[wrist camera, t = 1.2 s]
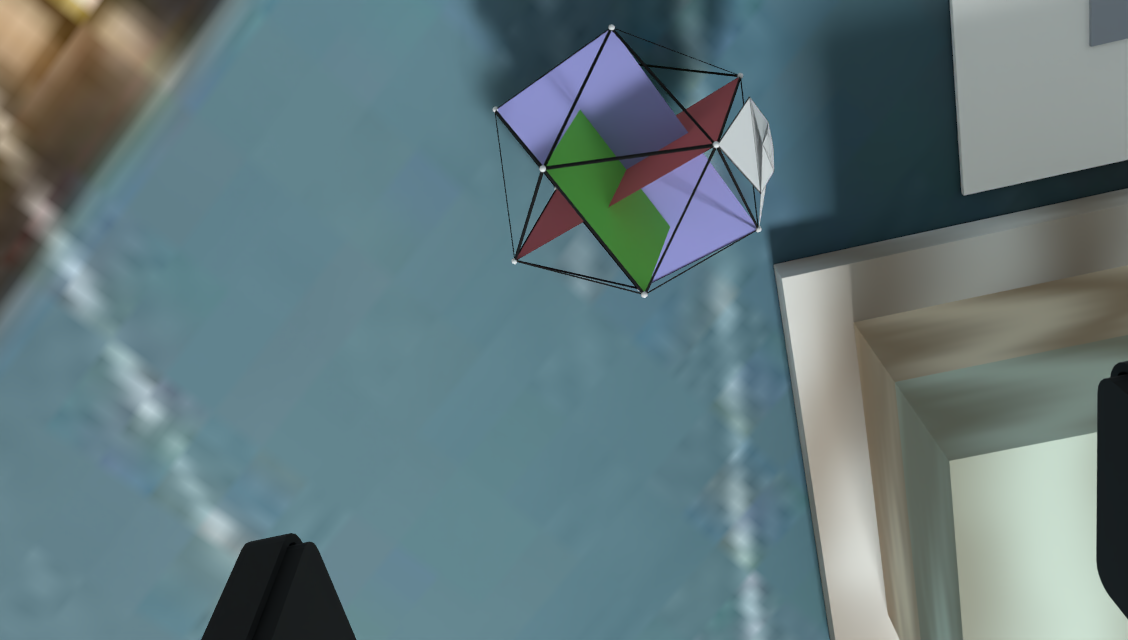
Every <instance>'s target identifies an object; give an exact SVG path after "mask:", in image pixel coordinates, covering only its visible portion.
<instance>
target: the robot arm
mask: <svg viewBox="0 0 1128 640" xmlns="http://www.w3.org/2000/svg"><path fill="white" fill-rule="evenodd" d="M1096 563H1097V570H1098V574H1099V577H1100V580H1101V582H1102V585H1103V587H1104V589H1105V590H1106V592H1107V593H1108V595H1109V596H1110V598H1111V599H1112V600H1113V601H1114V603H1115V604H1116V605H1117V607H1118V608H1119V609H1120V610H1121V612H1122V613H1123V614H1124V615H1125V617H1126V618H1127V619H1128V361H1124V362H1119V363H1117V364H1116V365H1114V367H1113V369H1112V371H1111V376H1110V377H1109V378H1105V379H1103V380H1101V381H1100V383H1099V385H1098V392H1097V525H1096ZM201 640H356V638H355V635H354V633H353V631H352V628H351V626H350V624H349V621H348V619H347V616H346V614H345V612H344V609H343V607H342V605H341V602H340V600H339V598H338V595H337V593H336V590H335V588H334V586H333V583H332V581H331V579H330V576H329V574H328V571H327V569H326V567H325V564H324V562H323V560H322V557H321V555H320V553H319V550H318V549H317V547H316V545H315V544H314V543H313V542H305V543H302V541H301V539H300V538H299V537H298V536H297V535H296V534H293V533H290V534H285V535H280V536H275V537H270V538H266V539H261V540H256V541H251V542H248V543H246V544H245V545H244V547H243V548H242V550H241V552H240V554H239V557H238V559H237V561H236V563H235V566H234V568H233V570H232V572H231V575H230V577H229V579H228V581H227V583H226V586H225V588H224V590H223V592H222V595H221V597H220V599H219V601H218V604H217V606H216V608H215V610H214V612H213V615H212V617H211V619H210V621H209V624H208V626H207V628H206V630H205V633H204V635H203V637H202V639H201Z"/></svg>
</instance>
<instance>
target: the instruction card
mask: <svg viewBox="0 0 1128 640" xmlns="http://www.w3.org/2000/svg"><path fill="white" fill-rule="evenodd" d="M949 1H950V17H951V33H952V49H953V65H954V81H955V97H956V113H957V129H958V145H959V161H960V177H961V193H962V194H963V195H969V194H973V193H978V192H982V191H987V190H992V189H996V188H1001V187H1005V186H1010V185H1015V184H1019V183H1024V182H1028V181H1033V180H1037V179H1042V178H1047V177H1051V176H1056V175H1060V174H1065V173H1070V172H1074V171H1079V170H1083V169H1088V168H1092V167H1097V166H1102V165H1106V164H1111V163H1115V162H1120V161H1125V160H1128V0H949Z"/></svg>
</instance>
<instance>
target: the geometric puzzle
mask: <svg viewBox="0 0 1128 640" xmlns="http://www.w3.org/2000/svg"><path fill="white" fill-rule="evenodd" d="M614 29H615V26H614V25H612V24H611V25H609V29H608V30H606V31H605V32H603V33H602V34H601V35H599V36H598V37H596V38H595V39H594V40H592V41H591V42H589V43H588V44H587V45H585V46H584V47H582V48H581V49H580V50H578V51H577V52H575V53H574V54H573V55H571V56H570V57H568V58H567V59H566V60H564V61H563V62H561V63H560V64H558V65H557V66H556V67H554V68H553V69H551V70H550V71H549V72H547V73H546V74H544V75H543V76H542V77H540V78H539V79H537V80H536V81H535V82H533V83H532V84H530V85H529V86H528V87H526V88H525V89H523V90H522V91H521V92H519V93H518V94H516V95H515V96H514V97H512V98H511V99H509V100H508V101H506V102H505V103H504V104H502V105H501V106H499V107H493V112H495V118H496V115H497V116H498V117H499V119H500V120H501V121H502V122H503V123H504V125H505V126H506V127H507V128H508V130H509V131H510V132H511V133H512V134H513V136H514V137H515V138H516V139H517V141H518V142H519V143H520V144H521V145H522V147H523V148H524V149H525V150H526V152H527V153H528V154H529V155H530V157H531V158H532V159H533V160H534V162H535V163H536V164H537V165H538V166H539V169H540V171H541V172H540V175H539V178H538V182H537V185H536V188H535V192H534V195H533V198H532V202H531V205H530V208H529V211H528V215H527V218H526V221H525V225H524V228H523V231H522V235H521V238H520V241H519V245H518V248H517V251H516V255H514V258H513V259H512V263H513V264H516V263H517V262H519V263H523V264H527V265H531V266H534V267H538V268H542V269H546V270H550V271H554V272H558V271H560V272H558V273H561V274H565V275H569V276H573V277H577V278H581V279H585V278H582V277H586V278H591V279H595V280H600V281H604V282H609V283H613V284H618V285H622V286H627V287H631V288H635V289H638V291H640V292H641V293H640V292H636V291H632V290H628V289H624V288H620V287H616V286H612V285H609V284H605V283H601V282H597V281H593V280H589V279H585V280H588V281H592V282H596V283H600V284H604V285H608V286H612V287H615V288H619V289H623V290H627V291H631V292H635V293H638V294H641V296H642V297H643V298H645V297H647V294H648V293H649V292H651V291H653V290H655V289H656V288H658V287H660V286H661V285H663V284H665V283H667V282H668V281H670V280H672V279H674V278H675V277H677V276H679V275H681V274H682V273H684V272H686V271H687V270H689V269H691V268H693V267H694V266H696V265H698V264H700V263H701V262H703V261H705V260H707V259H708V258H710V257H712V256H713V255H715V254H717V253H719V252H720V251H722V250H724V249H726V248H727V247H729V246H731V245H733V244H734V243H736V242H738V241H740V240H741V239H743V238H745V237H746V236H748V235H750V234H752V233H753V232H755V231H757V232H760V231H761V227H760V226H758V218H757V223H756V221H755V219H754V217H753V215H752V213H751V211H750V209H749V207H748V205H747V203H746V201H745V199H744V197H743V195H742V192H741V190H740V188H739V186H738V184H737V182H736V180H735V178H734V176H733V174H732V172H731V170H730V168H729V166H728V164H727V162H726V160H725V158H724V156H723V154H722V152H721V150H722V151H723V152H724V154H725V155H726V156H727V157H728V158H729V159H730V160H731V161H732V163H733V164H734V165H735V166H736V167H737V168H738V169H739V170H740V171H741V173H742V174H743V175H744V176H745V177H746V178H747V179H748V180H749V181H750V183H751V184H752V185H753V192H754V187H755V188H756V189H757V190H758V191H759V193H760V194H761V200H760V218H759V225H760V219H761V213H762V207H763V201H764V194H765V188H766V184H767V183H768V181H769V179H770V177H771V176H772V174H773V172H774V154H773V143H772V138H771V133H770V128H769V123H768V121H767V119H766V118H765V117H764V115H763V114H762V113H761V111H760V110H759V109H758V107H757V106H756V104H755V103H754V102H753V100H752V99H751V98H750V96H749V98H748V99H747V101H746V102H745V104H744V99H743V107H742V108H741V110H740V111H739V113H738V114H737V116H736V117H735V119H734V120H733V122H732V123H731V125H730V126H729V128H728V129H727V131H726V132H725V134H724V135H723V137H722V138H721V136H722V133H723V130H724V127H725V124H726V121H727V118H728V115H729V112H730V109H731V106H732V103H733V101H734V98H735V95H736V92H737V89H738V86H739V83H740V81H741V78H743V74H742V73H738V74H736V75H734V74H735V73H733V74H725V73H717V72H708V71H699V70H690V69H681V68H673V67H664V66H655V65H646V64H645V63H644V62H643V61H642V60H641V59H640V58H639V57H638V55H637V54H636V53H635V52H634V51H633V50H632V49H631V48H630V46H629V45H628V44H627V43H626V42H625V41H624V40H623V39H622V38H621V36H620V35H619V34H618V33H617V32H616V31H615V30H614ZM616 30H618V29H616ZM619 31H621V30H619ZM622 32H623V31H622ZM624 33H626V32H624ZM627 34H629V33H627ZM629 35H631V34H629ZM632 36H634V35H632ZM635 37H637V36H635ZM637 38H639V37H637ZM640 39H642V38H640ZM643 40H645V39H643ZM645 41H647V40H645ZM648 42H650V41H648ZM651 43H653V42H651ZM653 44H655V43H653ZM656 45H658V44H656ZM625 46H626V47H627V48H628V49H629V51H630V52H631V53H632V54H633V55H634V56H635V57H636V58H637V60H638V61H639V62H640V63H641V64H638V63H637V62H636V60H635V59H634V58H633V56H632V55H631V53H630V52H629V51H628V49H627V48H626V47H625ZM659 46H660V45H659ZM661 47H663V46H661ZM664 48H666V47H664ZM667 49H668V48H667ZM669 50H671V49H669ZM672 51H674V50H672ZM675 52H676V51H675ZM677 53H679V52H677ZM680 54H682V53H680ZM683 55H684V54H683ZM685 56H687V55H685ZM688 57H690V56H688ZM691 58H692V57H691ZM693 59H695V58H693ZM696 60H698V59H696ZM699 61H700V60H699ZM701 62H703V61H701ZM704 63H706V62H704ZM707 64H708V63H707ZM709 65H711V64H709ZM640 66H644V67H645V69H646V70H647V71H648V72H649V73H650V74H651V75H652V76H653V77H654V79H655V80H656V81H657V82H658V83H659V84H660V85H661V86H662V88H663V89H664V90H665V91H666V92H667V93H668V94H669V95H670V97H671V98H672V99H673V100H674V101H675V102H676V103H677V104H678V105H679V107H680V108H681V109H682V110H683V112H681V113H679V114H678V115H675V114H674V112H673V111H672V110H671V108H670V107H669V106H668V104H667V103H666V101H665V100H664V99H663V97H662V96H661V95H660V93H659V92H658V90H657V89H656V88H655V86H654V85H653V84H652V82H651V81H650V79H649V78H648V77H647V75H646V74H645V73H644V71H643V70H642V68H641V67H640ZM712 66H714V65H712ZM648 67H655V68H664V69H673V70H681V71H690V72H699V73H708V74H716V75H725V76H734V77H738V78H736V79H735V80H733V81H731V82H730V83H728V84H727V85H725V86H723V87H722V88H720V89H718V90H717V91H715V92H713V93H712V94H710V95H709V96H707V97H705V98H704V99H702V100H700V101H699V102H697V103H696V104H694V105H692V106H691V107H689V108H687V109H685V108H684V107H683V106H682V105H681V103H680V102H679V101H678V100H677V99H676V98H675V97H674V96H673V95H672V93H671V92H670V91H669V90H668V89H667V88H666V87H665V86H664V84H663V83H662V82H661V81H660V80H659V79H658V78H657V77H656V76H655V74H654V73H653V72H652V71H651V70H650V69H649V68H648ZM715 67H716V66H715ZM717 68H719V67H717ZM720 69H722V68H720ZM723 70H724V69H723ZM725 71H727V70H725ZM728 72H730V71H728ZM731 73H732V72H731ZM741 89H742V81H741ZM742 98H743V90H742ZM496 126H497V120H496ZM497 133H498V128H497ZM720 138H721V140H720ZM498 141H499V135H498ZM713 147H714V148H713ZM499 148H500V143H499ZM711 148H713V150H712V152H711V154H710V157H709V159H707V158H706V156H705V155H704V154H703V153H704V152H706V151H707V150H709V149H711ZM716 148H717V150H718V152H719V154H720V156H721V158H722V160H723V162H724V164H725V166H726V168H727V170H728V172H729V174H730V176H731V178H732V180H733V182H734V184H735V186H736V188H737V190H738V192H739V194H740V196H741V198H742V200H743V202H744V204H745V206H746V208H747V210H748V212H749V214H750V216H751V218H752V219H751V218H750V217H749V215H748V214H747V212H746V211H745V210H744V208H743V207H742V206H741V204H740V203H739V201H738V200H737V199H736V197H735V196H734V195H733V193H732V192H731V191H730V189H729V188H728V186H727V185H726V184H725V182H724V181H723V180H722V178H721V177H720V175H719V174H718V173H717V171H716V170H715V169H714V167H713V166H712V164H711V163H710V161H711V159H712V157H713V154H714V152H715V150H716ZM720 149H721V150H720ZM500 156H501V150H500ZM501 163H502V158H501ZM502 171H503V165H502ZM543 173H544V174H545V175H546V176H547V178H548V179H549V180H550V181H551V183H552V184H553V185H554V186H555V188H554V189H555V191H554V193H553V194H552V196H551V198H550V200H549V201H548V203H547V205H546V206H545V208H544V210H543V211H542V213H541V215H540V217H539V218H538V220H537V222H536V223H535V225H534V227H533V229H532V230H531V232H530V234H529V235H528V237H527V239H526V240H525V242H524V244H523V246H522V247H521V245H522V241H523V238H524V235H525V231H526V228H527V225H528V222H529V218H530V215H531V212H532V209H533V205H534V202H535V199H536V196H537V192H538V189H539V186H540V183H541V179H542V176H543ZM503 178H504V173H503ZM504 186H505V180H504ZM505 193H506V188H505ZM754 200H755V192H754ZM506 201H507V195H506ZM507 208H508V203H507ZM755 209H756V201H755ZM508 216H509V210H508ZM756 217H757V210H756ZM752 220H753V221H752ZM582 222H583V223H584V224H585V225H586V227H587V228H588V229H589V230H590V231H591V233H592V234H593V235H594V236H595V238H596V239H597V240H598V241H599V243H600V244H601V245H602V246H603V247H604V249H605V250H606V251H607V252H608V254H609V255H610V256H611V257H612V259H613V260H614V261H615V262H616V263H617V265H618V266H619V267H620V268H621V270H622V271H623V272H624V273H625V275H626V276H627V277H628V278H629V280H630V281H631V282H632V283H633V284H634V286H635V287H634V286H629V285H625V284H620V283H616V282H611V281H607V280H603V279H598V278H594V277H589V276H585V275H580V274H576V273H571V272H567V271H563V270H558V269H554V268H549V267H545V266H540V265H536V264H531V263H527V262H523V261H518V259H520V258H521V257H523V256H525V255H526V254H528V253H530V252H532V251H533V250H535V249H537V248H539V247H540V246H542V245H544V244H546V243H547V242H549V241H551V240H553V239H554V238H556V237H558V236H560V235H561V234H563V233H565V232H566V231H568V230H570V229H572V228H573V227H575V226H577V225H579V224H580V223H582ZM509 223H510V218H509ZM510 231H511V225H510ZM511 238H512V233H511ZM737 240H738V241H737ZM735 241H736V242H735ZM733 242H734V243H733ZM731 243H732V244H731ZM729 244H731V245H729ZM727 245H729V246H727ZM512 246H513V240H512ZM725 246H727V247H725ZM723 247H725V248H724V249H722V250H720V251H718V252H717V253H715V254H713V255H711V256H710V257H708V258H706V259H705V260H703V261H701V262H699V263H698V264H696V265H694V266H692V267H691V268H689V269H687V270H685V271H684V272H682V273H680V274H678V275H677V276H675V277H673V278H672V279H670V280H668V281H666V282H665V283H663V284H661V285H659V286H658V287H656V288H654V289H652V290H651V291H649V292H648V290H649V287H650V285H651V283H653V282H655V281H657V280H659V279H661V278H663V277H665V276H667V275H669V274H671V273H673V272H675V271H677V270H679V269H681V268H683V267H685V266H687V265H689V264H691V263H693V262H695V261H697V260H699V259H701V258H703V257H705V256H707V255H709V254H711V253H713V252H715V251H717V250H719V249H721V248H723ZM520 248H521V249H520ZM513 253H514V248H513ZM562 272H564V273H562ZM566 273H569V274H566ZM570 274H573V275H570ZM574 275H577V276H574ZM578 276H582V277H578Z"/></svg>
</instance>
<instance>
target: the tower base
mask: <svg viewBox="0 0 1128 640" xmlns="http://www.w3.org/2000/svg"><path fill="white" fill-rule="evenodd" d="M774 270H775V277H776V283H777V290H778V297H779V303H780V310H781V316H782V323H783V330H784V336H785V343H786V350H787V356H788V363H789V369H790V376H791V383H792V389H793V396H794V403H795V409H796V416H797V422H798V429H799V436H800V442H801V449H802V455H803V462H804V469H805V475H806V482H807V489H808V495H809V502H810V508H811V515H812V522H813V528H814V535H815V542H816V548H817V555H818V561H819V568H820V575H821V581H822V588H823V594H824V601H825V608H826V614H827V621H828V628H829V634H830V640H1128V619H1127V618H1126V617H1125V615H1124V614H1123V613H1122V612H1121V610H1120V609H1119V608H1118V607H1117V605H1116V604H1115V603H1114V601H1113V600H1112V599H1111V598H1110V596H1109V595H1108V593H1107V592H1106V590H1105V589H1104V587H1103V585H1102V582H1101V580H1100V577H1099V574H1098V570H1097V563H1096V525H1097V392H1098V385H1099V383H1100V381H1101V380H1103V379H1105V378H1109V377H1110V376H1111V371H1112V369H1113V367H1114V365H1116V364H1117V363H1119V362H1124V361H1128V188H1126V189H1122V190H1117V191H1112V192H1108V193H1103V194H1098V195H1094V196H1089V197H1084V198H1080V199H1075V200H1071V201H1066V202H1061V203H1057V204H1052V205H1047V206H1043V207H1038V208H1033V209H1029V210H1024V211H1020V212H1015V213H1010V214H1006V215H1001V216H996V217H992V218H987V219H982V220H978V221H973V222H969V223H964V224H959V225H955V226H950V227H945V228H941V229H936V230H931V231H927V232H922V233H918V234H913V235H908V236H904V237H899V238H894V239H890V240H885V241H880V242H876V243H871V244H867V245H862V246H857V247H853V248H848V249H843V250H839V251H834V252H829V253H825V254H820V255H816V256H811V257H806V258H802V259H797V260H792V261H788V262H783V263H778V264H774Z"/></svg>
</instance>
